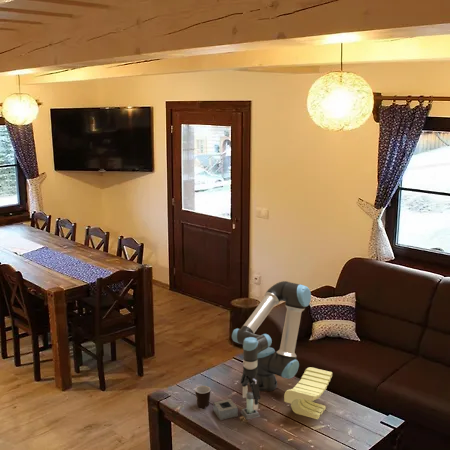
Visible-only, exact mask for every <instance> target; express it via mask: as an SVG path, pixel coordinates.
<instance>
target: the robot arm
mask: <svg viewBox="0 0 450 450" xmlns="http://www.w3.org/2000/svg"><path fill="white" fill-rule="evenodd" d="M311 301H312V293H311V289H310V288H309V287H308V286H307V285H303V284H300V283H296V282H290V281H287V280H286V281H285V280H282V281H279V282H277V283H274V284H273V285H272V286H270V287H269V288H268V289H267V290H266V292H265V293H264V297H263V298H262V300H261V301H260V303H259V304H258V306H256V308H255V309H254V311H253V312H252V313H251V314H250V316H249V317H248V319H247V320H246V321H245V323H244V324H243V325H242V326H241V328H235V329H233V330H232V333H231V339H232V341H233V342H235V343H237V344H240V345H242V351H243V352H242V353H243V357H242V360H243V362H242V367H243V368H242V369H243V370H242V376H241V379H240V384H241V387H242V398H243V399H247V393H248V392H249V387H250V390H251V392H252V393H253V397H254V398H253V410H259V400H260V399H261V394H260V393H261V392H264V391H267V392H272V391H274V390H275V389H277V387H278V381H277V378H276V376H279V377H281V378H283V379H288V380H289V379H292V378H294V377H295V376H296V375H297V373H298V370H299V367H300V363H299V361H298V359H297V354H296V353H295V351H296V346H297V340H298V335H299V330H300V329H299V328H300V323H301V317H302V312H304V311H305V309H306V307H309V305H310V303H311ZM280 302H285V303H284V306H285V309H286V312H285V319H284V325H283V330H282V333H281V334H282V335H281V341H280V346H279V349H278V350H277V351H276V350H275V348H274V347H271V346H272V343H273V342H272V341H273V340H272V338H271V336H270V335H269V334H267V333H263V334H261V335H260V334H255V333H256V332H257V330H258V328H259V327H260V326H261V325H262V323H263V322H264V321H265V319H266V318H268V317H267V316H268V315H270V313H271V312H272V310H273V308H274V307H275V306H276V305H278V304H279V303H280ZM248 385H249V387H248Z"/></svg>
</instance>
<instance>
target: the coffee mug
mask: <svg viewBox="0 0 450 450" xmlns="http://www.w3.org/2000/svg"><path fill="white" fill-rule="evenodd" d="M194 392H195V398H196V399H195V400H196V406H197V408H198V409H201V410H203V409H206V407H208V406H209V405H210V398H211V387H210V386H207V385H198V386H196V388H195V389H194Z"/></svg>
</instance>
